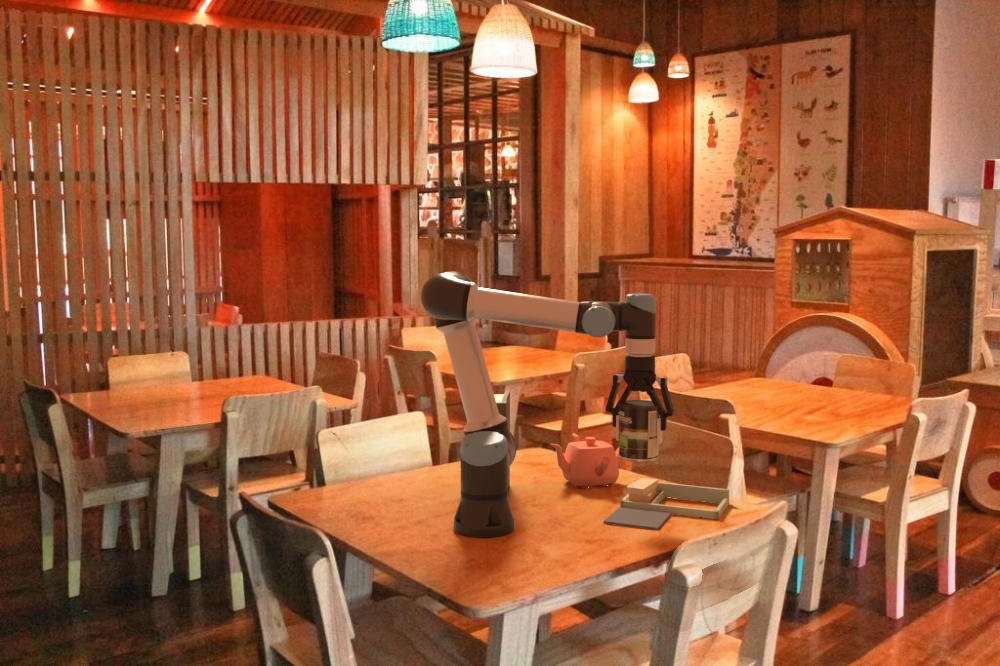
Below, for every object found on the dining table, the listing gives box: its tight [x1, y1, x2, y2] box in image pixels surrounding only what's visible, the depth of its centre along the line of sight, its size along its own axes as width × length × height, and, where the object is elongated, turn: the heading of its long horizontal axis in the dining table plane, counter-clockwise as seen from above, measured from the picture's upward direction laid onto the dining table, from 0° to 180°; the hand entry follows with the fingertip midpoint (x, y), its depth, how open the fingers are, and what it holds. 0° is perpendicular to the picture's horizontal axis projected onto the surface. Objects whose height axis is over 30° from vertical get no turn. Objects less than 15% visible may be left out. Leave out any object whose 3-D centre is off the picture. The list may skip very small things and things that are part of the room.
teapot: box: [549, 432, 623, 489], centre depth 280 cm, size 18×18×14 cm
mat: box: [603, 506, 672, 531], centre depth 246 cm, size 14×14×1 cm
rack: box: [619, 477, 730, 520], centre depth 258 cm, size 16×26×5 cm, turn 67°
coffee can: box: [618, 399, 660, 463], centre depth 243 cm, size 10×10×14 cm
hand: (639, 441), depth 244 cm, fingers closed on coffee can, 10 cm apart
